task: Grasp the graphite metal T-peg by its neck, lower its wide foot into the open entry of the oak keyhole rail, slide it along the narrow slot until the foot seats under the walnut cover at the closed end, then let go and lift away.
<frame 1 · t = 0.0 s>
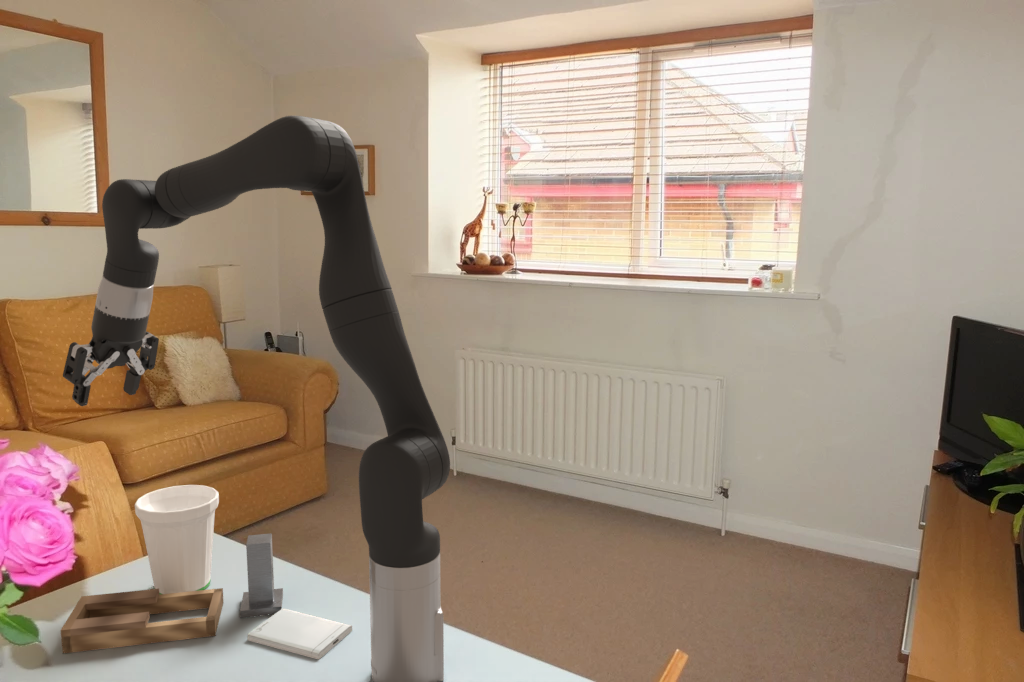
hand: (105, 398, 121), 31 cm above the table, tool tilted 20°, fingers open, 8 cm apart
t peg: (262, 606, 119), on the table
keyhole rail: (148, 626, 113), on the table
cup: (183, 587, 125), on the table
hard drive: (300, 639, 111), on the table
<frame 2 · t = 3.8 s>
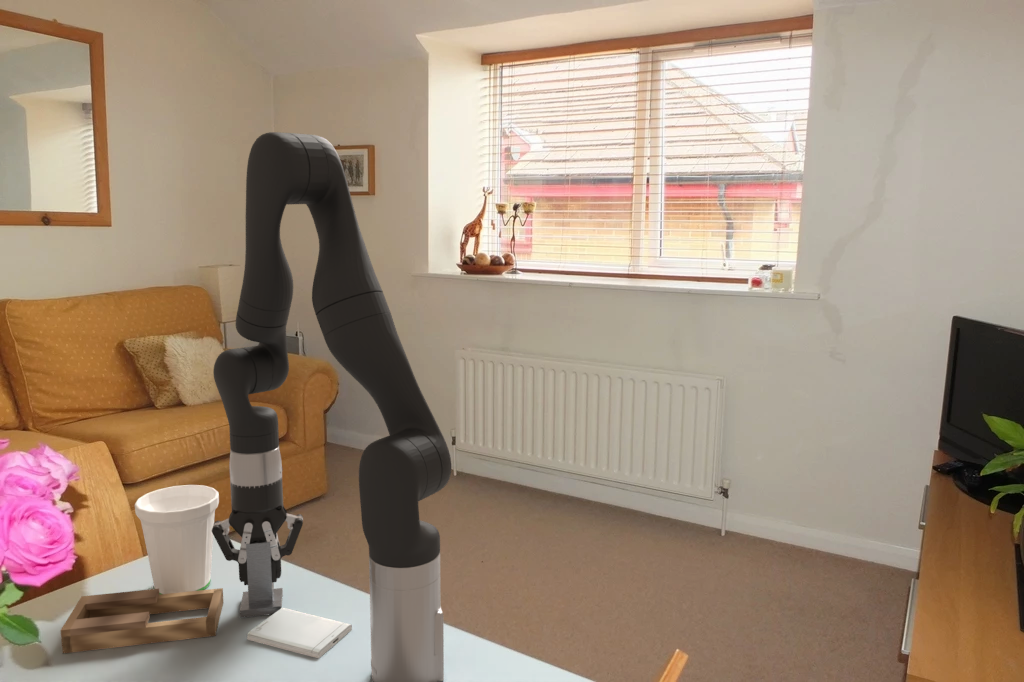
hand: (261, 580, 118), 4 cm above the table, tool pointing down, fingers closed on t peg, 3 cm apart
t peg: (261, 606, 119), on the table, touching gripper
everything else where it was.
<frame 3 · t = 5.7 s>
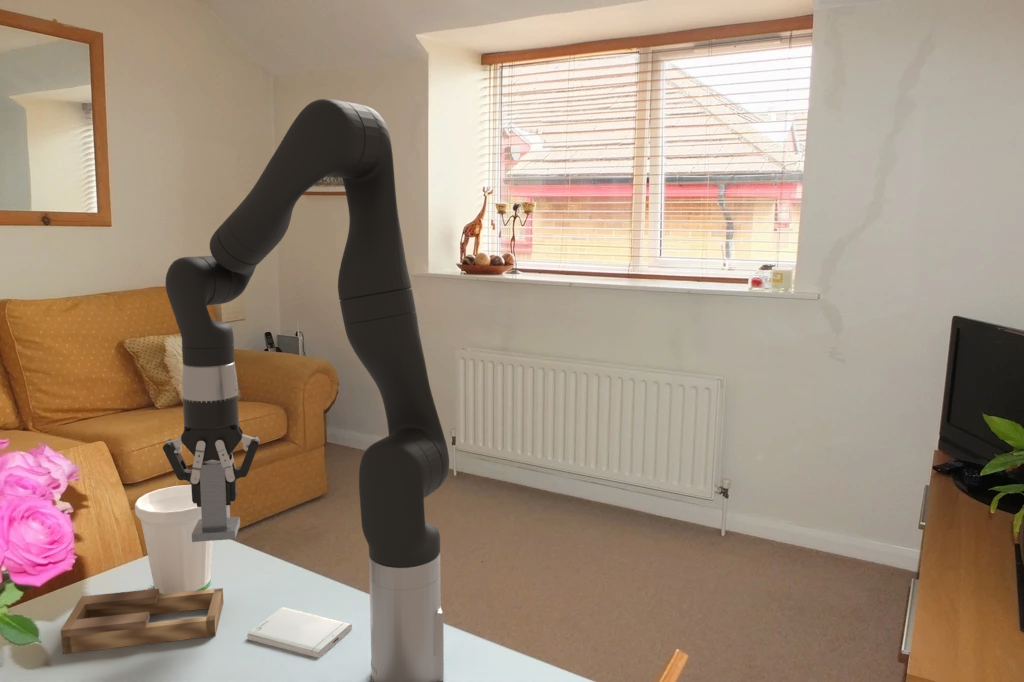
hand: (215, 503, 114), 18 cm above the table, tool pointing down, fingers closed on t peg, 3 cm apart
t peg: (216, 532, 115), point 13 cm above the table, touching gripper
everything else where it was.
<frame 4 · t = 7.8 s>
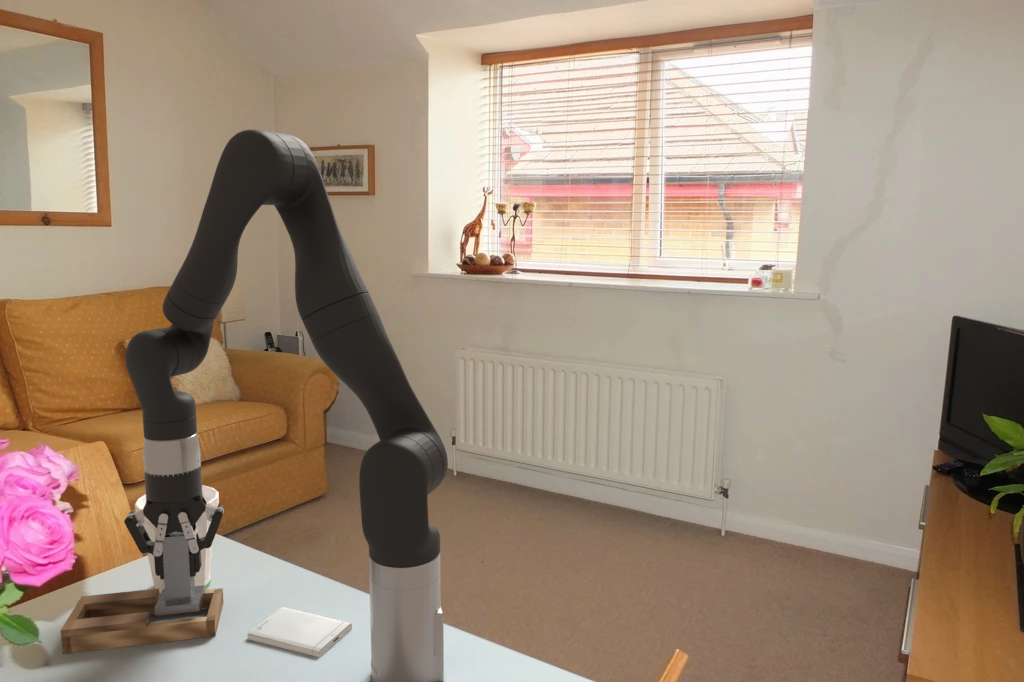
hand: (179, 574, 113), 8 cm above the table, tool pointing down, fingers closed on t peg, 3 cm apart
t peg: (180, 603, 114), point 3 cm above the table, touching gripper
everything else where it was.
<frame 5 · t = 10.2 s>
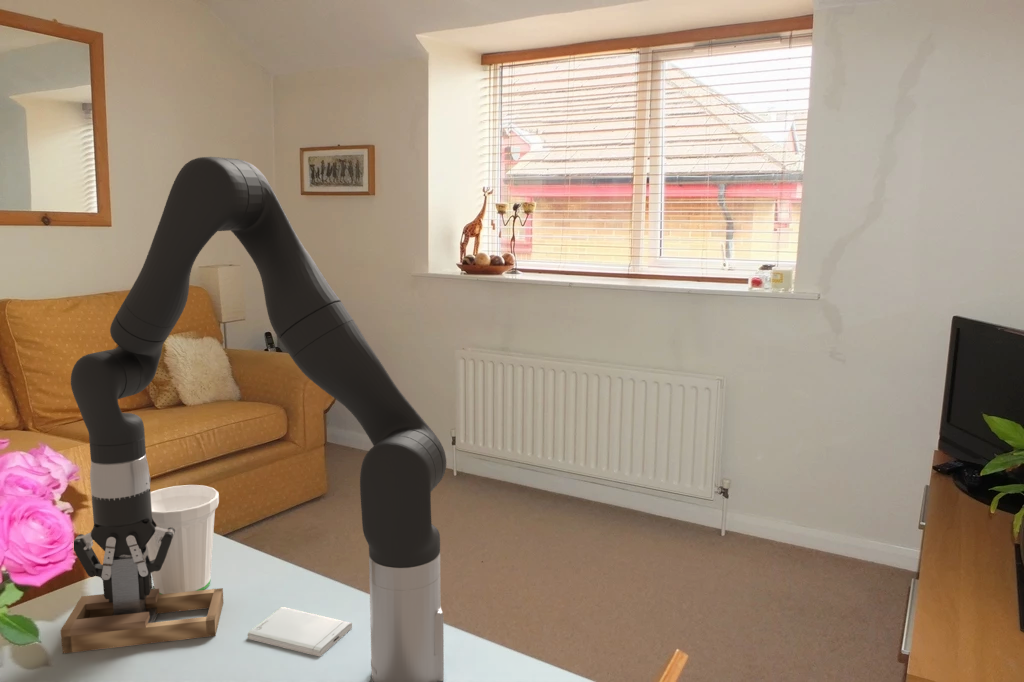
hand: (129, 598, 112), 5 cm above the table, tool pointing down, fingers closed on t peg, 3 cm apart
t peg: (131, 626, 112), resting in keyhole rail, touching gripper
everything else where it was.
when the fingers open (5 cm above the table, at t = 12.1 s): t peg stays where it is, resting in keyhole rail.
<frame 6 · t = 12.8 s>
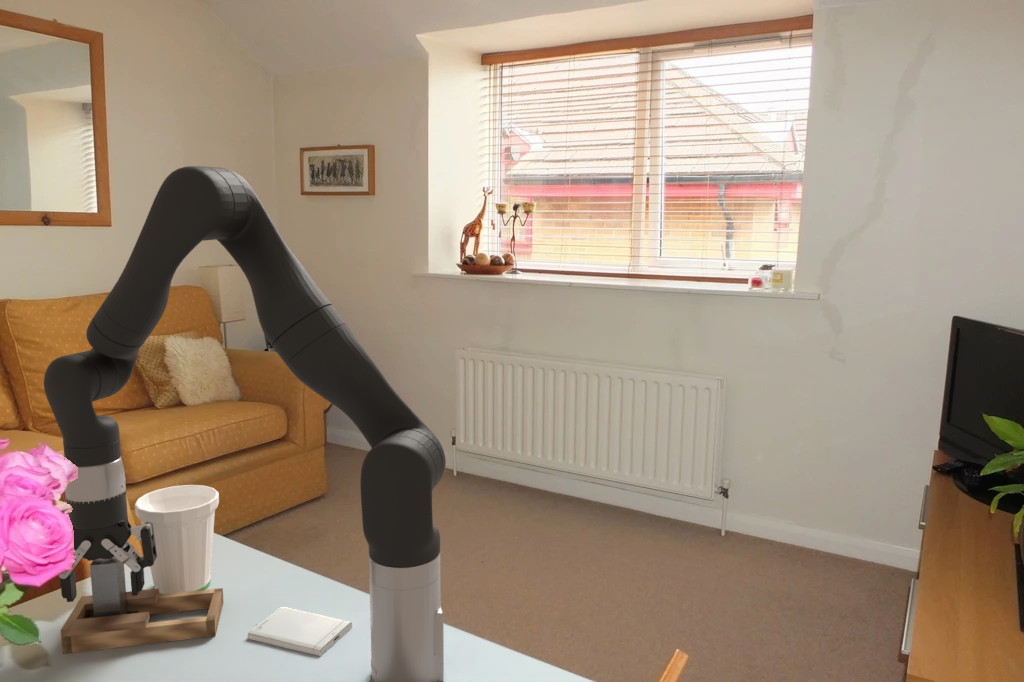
hand: (104, 596, 110), 6 cm above the table, tool pointing down, fingers open, 8 cm apart
t peg: (112, 630, 112), resting in keyhole rail
everything else where it was.
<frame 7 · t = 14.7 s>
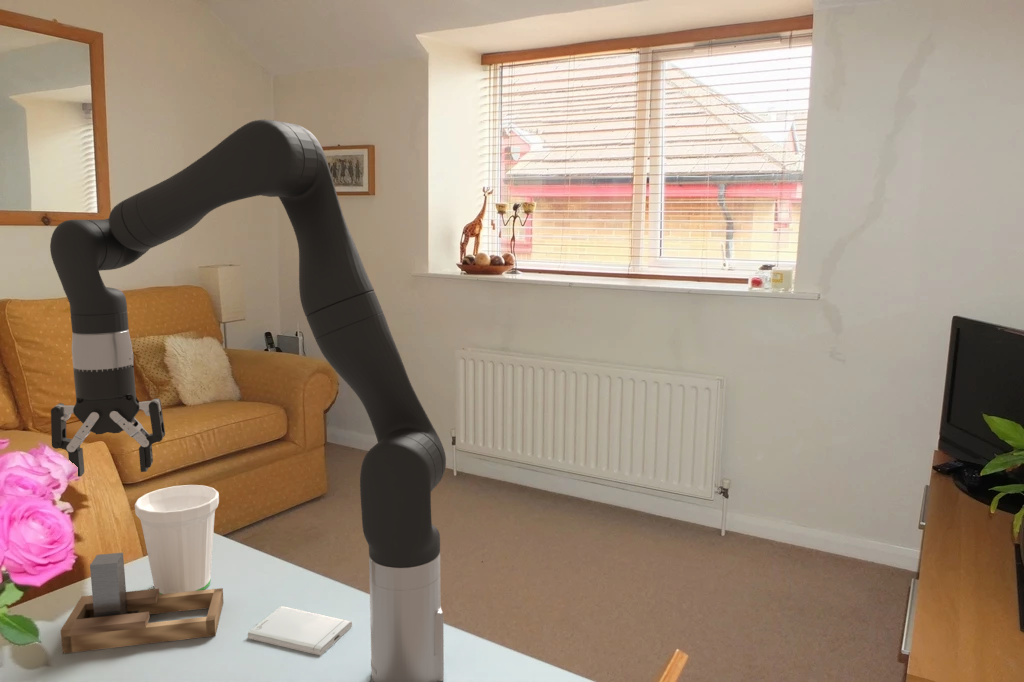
hand: (112, 472, 110), 24 cm above the table, tool pointing down, fingers open, 8 cm apart
nothing on the table moved.
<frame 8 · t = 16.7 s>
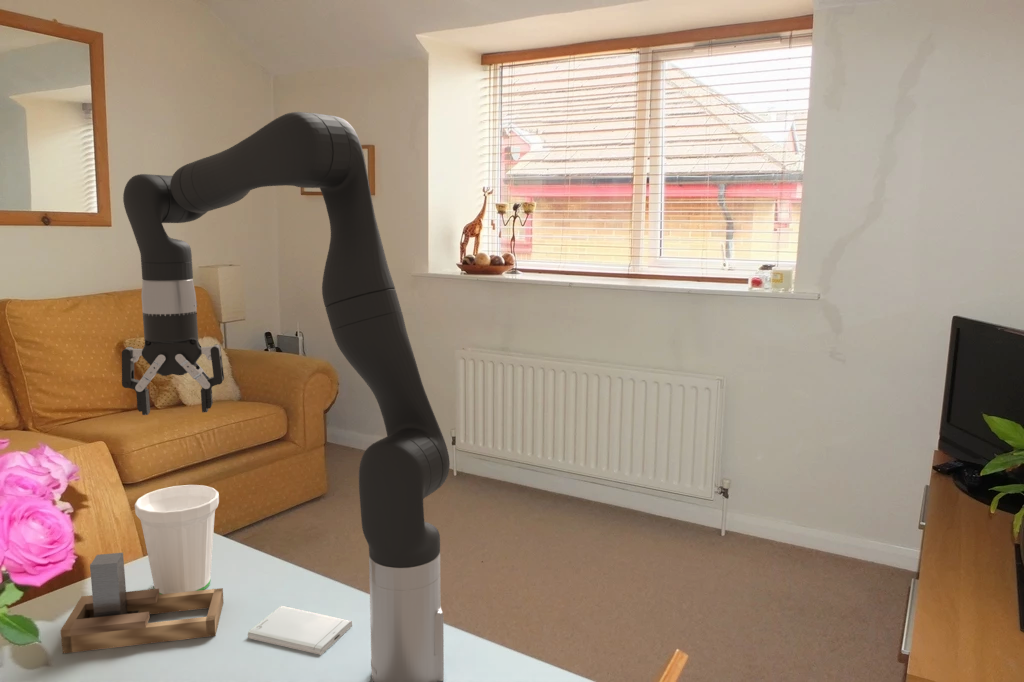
hand: (176, 412, 118), 30 cm above the table, tool pointing down, fingers open, 8 cm apart
nothing on the table moved.
at the end: t peg 0.4 cm from the target spot on the keyhole rail, point 0.0 cm above the keyhole rail's base; the gripper is holding nothing; t peg tilted 0° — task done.
